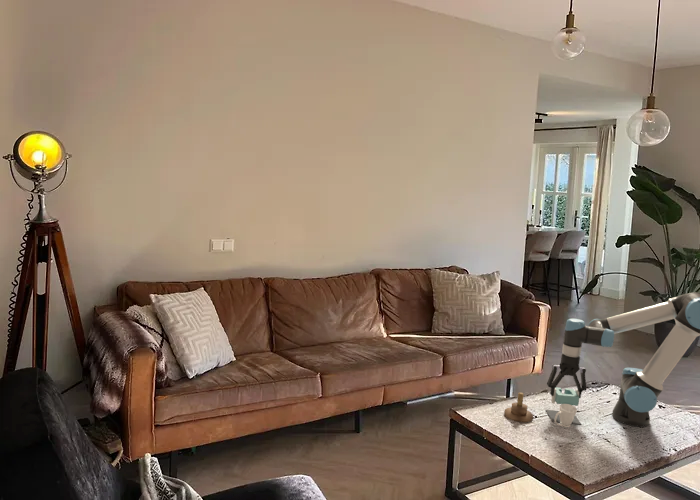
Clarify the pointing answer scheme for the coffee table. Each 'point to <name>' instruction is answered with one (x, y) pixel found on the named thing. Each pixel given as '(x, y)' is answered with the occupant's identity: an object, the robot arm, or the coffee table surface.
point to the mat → (552, 416)
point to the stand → (518, 411)
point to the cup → (566, 415)
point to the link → (566, 397)
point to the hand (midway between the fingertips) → (564, 403)
